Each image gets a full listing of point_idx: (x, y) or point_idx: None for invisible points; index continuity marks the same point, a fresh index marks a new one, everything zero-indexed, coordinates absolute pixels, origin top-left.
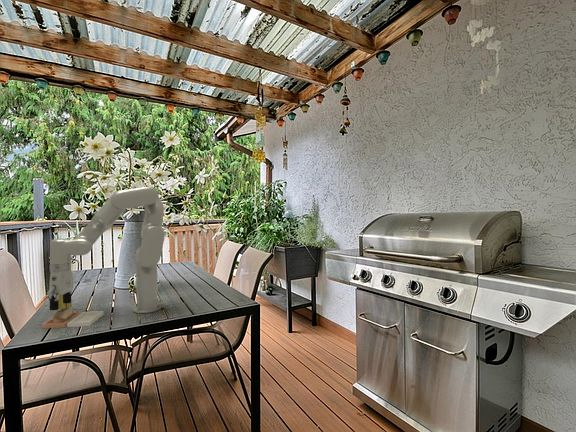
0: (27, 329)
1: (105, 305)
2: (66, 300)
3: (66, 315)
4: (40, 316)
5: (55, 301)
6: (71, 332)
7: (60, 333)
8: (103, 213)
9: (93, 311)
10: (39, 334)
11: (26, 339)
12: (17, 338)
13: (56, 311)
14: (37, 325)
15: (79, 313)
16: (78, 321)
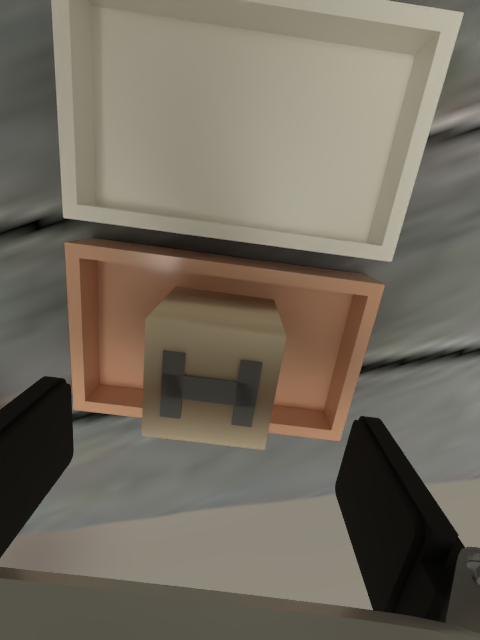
0: (276, 492)
1: None
2: (50, 446)
3: (270, 319)
4: (41, 514)
5: (449, 553)
6: (474, 188)
7: (454, 270)
8: None
9: (64, 101)
10: (405, 399)
11: (465, 435)
12: None
13: (237, 432)
14: (217, 470)
15: (111, 247)
16: (253, 209)
